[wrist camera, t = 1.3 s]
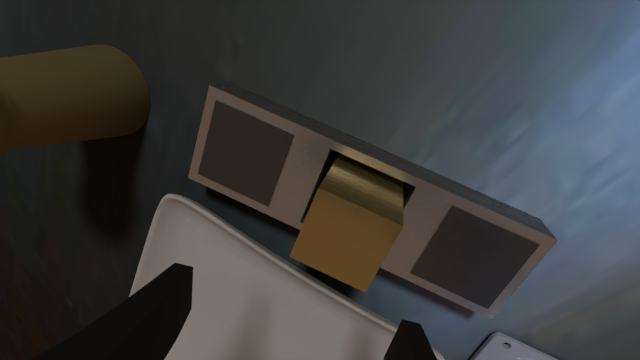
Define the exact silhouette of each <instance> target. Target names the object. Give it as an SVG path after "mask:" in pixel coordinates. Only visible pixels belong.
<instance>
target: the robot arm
mask: <svg viewBox="0 0 640 360" xmlns="http://www.w3.org/2000/svg"><path fill="white" fill-rule="evenodd" d="M192 285H193V267H191V266H187V265H183V264H179V263H174V264H172V265H171V266H170V267H168V268H167V269H166V270H165V271H163V272H162V273H161V274H159V275H158V276H157V277H155V278H154V279H153V280H152V281H150V282H149V283H148V284H146V285H145V286H144V287H142V288H141V289H140V290H138V291H137V292H136V293H134V294H133V295H131V296H130V297H129V298H127V299H126V300H124V301H123V302H122V303H120V304H119V305H117V306H116V307H115V308H113V309H112V310H110V311H109V312H107V313H106V314H104V315H103V316H101V317H100V318H98V319H97V320H95V321H94V322H92V323H91V324H89V325H87V326H86V327H84V328H83V329H81V330H80V331H78V332H77V333H75V334H73V335H72V336H70V337H68V338H67V339H65V340H63V341H62V342H60V343H58V344H57V345H55V346H53V347H51V348H50V349H48V350H46V351H44V352H43V353H41V354H39V355H37V356H36V357H34V358H32V359H30V360H164V359H165V358H166V356H167V354H168V353H169V351H170V349H171V348H172V346H173V345H174V343H175V341H176V340H177V338H178V336H179V334H180V332H181V330H182V328H183V326H184V324H185V321H186V319H187V317H188V315H189V313H190V311H191V309H192ZM504 343H508V344H504ZM384 360H437V358H436V356H435V354H434V352H433V350H432V348H431V345H430V343H429V341H428V339H427V337H426V335H425V333H424V330H423V328H422V326H421V325H420V324H418V323H414V322H410V321H406V320H402V321H401V323H400V325H399V327H398V329H397V331H396V333H395V335H394V337H393V339H392V341H391V343H390V345H389V348H388V350H387V352H386V354H385V356H384ZM470 360H558V359H556V358H553V357H551V356H549V355H547V354H545V353H543V352H541V351H539V350H536V349H534V348H532V347H530V346H528V345H526V344H524V343H522V342H519V341H517V340H515V339H513V338H511V337H509V336H507V335H505V334H502V333H499V332H496V333H493V334H492V335H490V337H489V338H488V339H487V340H486V341H485V342H484V344H483V345H482V346H481V347H480V348H479V349H478V351H477V352H476V353H475V354H474V355H473V357H472V358H471V359H470Z"/></svg>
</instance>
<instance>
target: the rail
mask: <svg viewBox="0 0 640 360" xmlns="http://www.w3.org/2000/svg"><path fill="white" fill-rule="evenodd" d="M333 150H334V151H337V152H339V153H341V154H343V155H346V156H348V157H350V158H352V159H354V160H357V161H359V162H361V163H363V164H366V165H368V166H370V167H372V168H375V169H377V170H379V171H381V172H384V173H386V174H388V175H390V176H392V177H395V178H397V179H399V180H401V181H404V182H406V183H408V186H407V187H406V189H405V191H404V193H403V221H404V227H403V228H402V230H401V232H400V234H399V235H398V237H397V239H396V240H395V242H394V244H393V246H392V247H391V249H390V251H389V253H388V254H387V256H386V258H385V260H384V261H383V263H382V265H381V266H380V268H382V269H384V270H386V271H388V272H391V273H393V274H395V275H397V276H399V277H401V278H403V279H406V280H408V281H410V282H412V283H414V284H416V285H418V286H421V287H423V288H425V289H427V290H429V291H431V292H433V293H435V294H438V295H440V296H442V297H444V298H446V299H448V300H450V301H453V302H455V303H457V304H459V305H461V306H463V307H465V308H467V309H470V310H472V311H474V312H476V313H478V314H480V315H482V316H485V317H487V318H489V319H491V320H492V319H493V317H494V316H495V315H496V314H497V312H498V311H499V310H500V309H501V308H502V306H503V305H504V304H505V303H506V302H507V300H508V299H509V298H510V297H511V296H512V294H513V293H514V292H515V291H516V290H517V288H518V287H519V286H520V285H521V284H522V282H523V281H524V280H525V279H526V278H527V276H528V275H529V274H530V273H531V272H532V270H533V269H534V268H535V267H536V266H537V264H538V263H539V262H540V261H541V260H542V258H543V257H544V256H545V255H546V253H547V252H548V251H549V250H550V249H551V247H552V246H553V245H554V244H555V243H556V241H557V239H556V238H555V236H554V235H553V234H552V233H551V232H550V230H549V229H548V228H547V227H546V226H545V224H544V223H543V222H542V221H541V220H540V219H539V218H537V217H534V216H532V215H530V214H528V213H525V212H523V211H521V210H518V209H516V208H514V207H512V206H509V205H507V204H505V203H503V202H500V201H498V200H496V199H494V198H491V197H489V196H487V195H485V194H482V193H480V192H478V191H476V190H473V189H471V188H469V187H466V186H464V185H462V184H460V183H457V182H455V181H453V180H451V179H448V178H446V177H444V176H442V175H439V174H437V173H435V172H433V171H430V170H428V169H426V168H424V167H421V166H419V165H417V164H414V163H412V162H410V161H408V160H405V159H403V158H401V157H399V156H396V155H394V154H392V153H390V152H387V151H385V150H383V149H381V148H378V147H376V146H374V145H372V144H369V143H367V142H365V141H362V140H360V139H358V138H356V137H353V136H351V135H349V134H347V133H344V132H342V131H340V130H338V129H335V128H333V127H331V126H329V125H326V124H324V123H322V122H319V121H317V120H315V119H313V118H310V117H308V116H306V115H304V114H301V113H299V112H297V111H295V110H292V109H290V108H288V107H286V106H283V105H281V104H279V103H277V102H274V101H272V100H270V99H267V98H265V97H263V96H261V95H258V94H256V93H254V92H252V91H249V90H247V89H245V88H243V87H240V86H238V85H236V84H234V83H231V82H226V83H220V84H214V85H209V89H208V94H207V98H206V102H205V107H204V111H203V115H202V120H201V124H200V128H199V133H198V137H197V141H196V146H195V150H194V154H193V159H192V163H191V167H190V172H189V176H188V178H190V179H192V180H194V181H196V182H199V183H201V184H203V185H205V186H207V187H209V188H211V189H213V190H216V191H218V192H220V193H222V194H224V195H226V196H228V197H231V198H233V199H235V200H237V201H239V202H241V203H243V204H245V205H248V206H250V207H252V208H254V209H256V210H258V211H260V212H263V213H265V214H267V215H269V216H271V217H273V218H275V219H278V220H280V221H282V222H284V223H286V224H288V225H290V226H292V227H295V228H297V229H299V230H301V228H302V225H303V223H304V221H305V218H306V216H307V214H308V211H309V209H310V204H311V202H312V200H313V197H314V195H315V192H316V190H317V188H318V185H319V183H320V181H321V178H322V176H323V173H324V171H325V169H326V166H327V164H328V161H329V159H330V157H331V154H332V152H333Z"/></svg>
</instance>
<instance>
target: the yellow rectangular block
mask: <svg viewBox="0 0 640 360" xmlns="http://www.w3.org/2000/svg"><path fill="white" fill-rule="evenodd" d="M403 227H404V221H403V181H401V180H399V179H397V178H395V177H392V176H390V175H388V174H386V173H384V172H381V171H379V170H377V169H375V168H372V167H370V166H368V165H366V164H363V163H361V162H359V161H357V160H354V159H352V158H350V157H348V156H346V155H343V154H341V153H340V154H339V156H338V157H337V159H336V160H335V162H334V164H333V165H332V167H331V168H330V170H329V172H328V173H327V175H326V176H325V178H324V180H323V181H322V183H321V184H320V186H319V188H318V190H317V192H316V195H315V197H314V199H313V202H312V204H311V206H310V209H309V211H308V214H307V216H306V218H305V221H304V223H303V225H302V228H301V230H300V233H299V235H298V237H297V240H296V242H295V244H294V247H293V249H292V252H291V254H290V256H289V257H291V258H293V259H295V260H297V261H299V262H301V263H304V264H306V265H308V266H310V267H312V268H314V269H316V270H318V271H320V272H322V273H325V274H327V275H329V276H331V277H333V278H335V279H337V280H339V281H341V282H344V283H346V284H348V285H350V286H352V287H354V288H356V289H358V290H360V291H362V292H366V291H367V289H368V287H369V285H370V284H371V282H372V280H373V279H374V277H375V275H376V273H377V272H378V270H379V268H380V266H381V265H382V263H383V261H384V260H385V258H386V256H387V254H388V253H389V251H390V249H391V247H392V246H393V244H394V242H395V240H396V239H397V237H398V235H399V234H400V232H401V230H402V228H403Z"/></svg>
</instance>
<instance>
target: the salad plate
mask: <svg viewBox="0 0 640 360" xmlns="http://www.w3.org/2000/svg"><path fill="white" fill-rule="evenodd" d="M174 263H179V264H183V265H187V266H191V267H193V285H192V309H191V311H190V313H189V315H188V317H187V319H186V321H185V324H184V326H183V328H182V330H181V332H180V334H179V336H178V338H177V340H176V341H175V343H174V345H173V346H172V348H171V349H170V351H169V353H168V354H167V356H166V358H165V359H164V360H384V356H385V354H386V352H387V350H388V348H389V345H390V343H391V341H392V339H393V337H394V335H395V333H396V331H397V329H398V327H399V326H398V325H397V324H395V323H393V322H391V321H389V320H387V319H385V318H384V317H382V316H380V315H378V314H376V313H375V312H373V311H371V310H369V309H368V308H366V307H364V306H362V305H360V304H359V303H357V302H355V301H354V300H352V299H350V298H348V297H347V296H345V295H343V294H341V293H340V292H338V291H336V290H334V289H333V288H331V287H329V286H328V285H326V284H324V283H323V282H321V281H319V280H318V279H316V278H314V277H313V276H311V275H309V274H308V273H306V272H304V271H303V270H301V269H300V268H298V267H296V266H295V265H293V264H291V263H290V262H288V261H286V260H285V259H283V258H281V257H280V256H278V255H277V254H275V253H273V252H272V251H270V250H269V249H267V248H266V247H264V246H263V245H261V244H259V243H258V242H256V241H255V240H253V239H252V238H250V237H249V236H247V235H246V234H244V233H243V232H241V231H239V230H238V229H236V228H235V227H233V226H232V225H230V224H229V223H228V222H226V221H225V220H223V219H222V218H220V217H219V216H217V215H216V214H214V213H213V212H211V211H210V210H208V209H207V208H205V207H203V206H202V205H200V204H199V203H197V202H195V201H193V200H191V199H189V198H186V197H183V196H180V195H177V194H167V195H165V196H164V197H163V198H162V200H161V201H160V203H159V205H158V208H157V210H156V212H155V215H154V218H153V221H152V223H151V226H150V229H149V233H148V236H147V239H146V242H145V246H144V249H143V252H142V255H141V259H140V262H139V265H138V268H137V272H136V276H135V279H134V282H133V285H132V289H131V292H130V295H129V297H130V296H131V295H133V294H134V293H136V292H137V291H138V290H140V289H141V288H142V287H144V286H145V285H146V284H148V283H149V282H150V281H152V280H153V279H154V278H155V277H157V276H158V275H159V274H161V273H162V272H163V271H165V270H166V269H167V268H168V267H170V266H171V265H172V264H174ZM431 348H432V350H433V352H434V354H435V356H436V358H437V360H445V359H444V357H443V356H442V355H441V353H440V352H438V351H437V350H436V349H435V348H434V347H432V346H431Z"/></svg>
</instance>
